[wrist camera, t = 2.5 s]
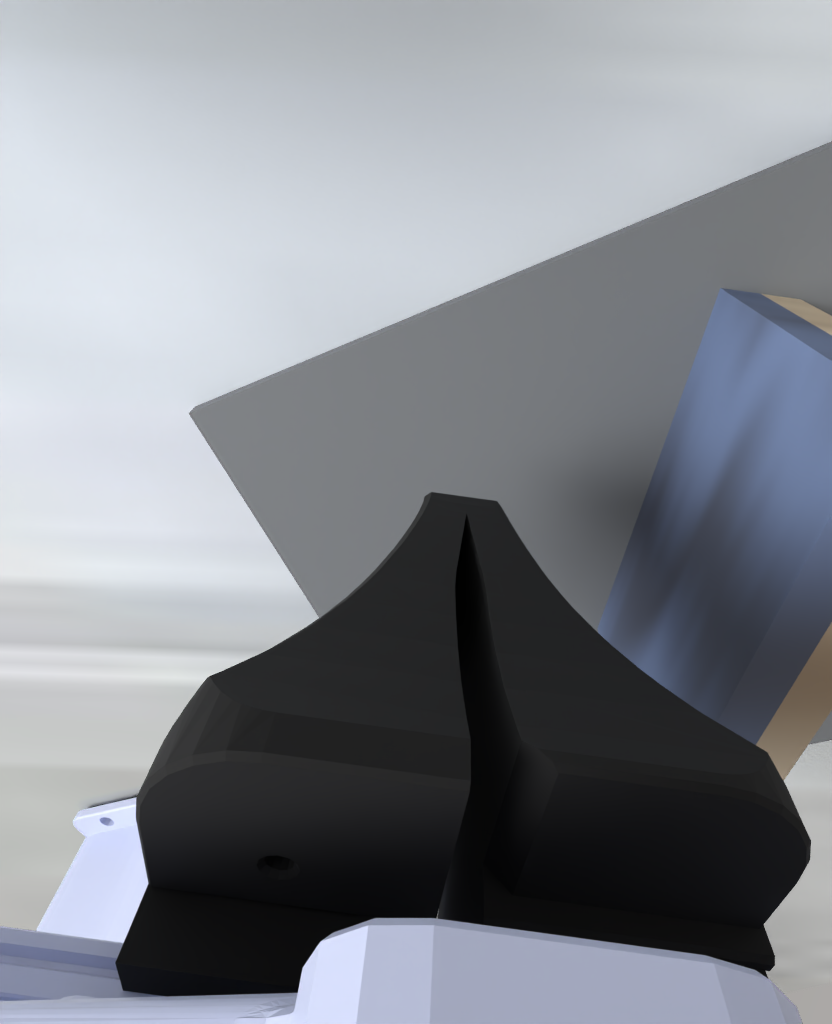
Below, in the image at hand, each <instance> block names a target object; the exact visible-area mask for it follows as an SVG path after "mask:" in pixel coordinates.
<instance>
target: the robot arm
mask: <svg viewBox="0 0 832 1024" xmlns="http://www.w3.org/2000/svg"><path fill="white" fill-rule="evenodd" d="M73 825H74V826H75V828H76V829H77V830H79V831H80V832H81V833H82V834H83V835H84V836H85V837H86V838H85V840H84V842H83V844H82V845H81V847H80V849H79V851H78V853H77V855H76V857H75V858H74V860H73V862H72V864H71V866H70V868H69V870H68V872H67V873H66V875H65V877H64V879H63V881H62V883H61V885H60V887H59V888H58V890H57V892H56V894H55V896H54V898H53V900H52V901H51V903H50V905H49V907H48V909H47V911H46V913H45V915H44V916H43V918H42V920H41V922H40V924H39V926H38V928H37V930H36V931H33V930H25V929H18V928H11V927H3V926H0V1024H803V1023H802V1020H801V1018H800V1015H799V1012H798V1009H797V1007H796V1006H795V1005H794V1004H793V1003H792V1002H791V1000H790V999H789V998H788V997H787V996H786V995H785V994H784V993H783V992H782V991H781V990H780V989H779V988H778V987H777V986H776V985H775V984H774V983H773V982H772V981H771V980H770V979H768V977H767V974H766V971H770V970H771V969H772V968H773V967H774V966H775V955H774V953H773V950H772V947H771V944H770V942H769V939H768V936H767V933H766V931H765V928H764V925H763V924H764V923H765V922H766V921H767V919H768V918H769V917H770V916H771V914H772V913H773V912H774V911H775V909H776V908H777V907H778V906H779V905H780V903H781V902H782V901H783V900H784V898H785V897H786V896H787V895H788V893H789V892H790V891H791V890H792V888H793V887H794V886H795V885H796V884H797V882H798V880H799V879H800V877H801V875H802V873H803V871H804V870H805V868H806V866H807V864H808V862H809V861H810V848H811V840H810V838H809V836H808V833H807V831H806V829H805V827H804V825H803V823H802V820H801V818H800V816H799V814H798V811H797V809H796V807H795V805H794V802H793V800H792V798H791V796H790V794H789V791H788V789H787V787H786V785H785V783H784V781H783V779H782V778H781V776H780V774H779V772H778V770H777V768H776V767H775V765H774V763H773V761H772V759H771V758H770V756H769V754H768V752H766V751H765V750H763V749H761V748H760V747H758V746H756V745H755V744H753V743H751V742H750V741H748V740H746V739H745V738H743V737H741V736H740V735H738V734H736V733H734V732H733V731H731V730H729V729H728V728H726V727H724V726H723V725H721V724H719V723H718V722H716V721H714V720H713V719H711V718H709V717H708V716H706V715H704V714H703V713H701V712H700V711H698V710H697V709H695V708H694V707H692V706H691V705H689V704H688V703H686V702H685V701H683V700H682V699H681V698H679V697H678V696H676V695H675V694H673V693H672V692H671V691H669V690H668V689H666V688H665V687H663V686H662V685H661V684H659V683H658V682H657V681H655V680H654V679H653V678H651V677H650V676H649V675H647V674H646V673H645V672H643V671H642V670H641V669H640V668H638V667H637V666H636V665H635V664H634V663H632V662H631V661H630V660H629V659H628V658H626V657H625V656H624V655H623V654H622V653H620V652H619V651H618V650H617V649H616V648H614V647H613V646H612V645H611V644H610V643H609V642H608V641H606V640H605V639H604V638H603V637H602V636H601V635H600V634H599V633H598V632H597V631H596V630H595V629H594V628H593V627H592V626H591V625H590V624H589V623H588V622H587V621H586V620H585V619H584V618H583V617H582V616H581V615H580V614H579V613H578V612H577V611H576V610H575V609H574V608H573V607H572V606H571V605H570V604H569V603H568V601H567V600H566V599H565V598H564V597H563V596H562V595H561V593H560V592H559V591H558V590H557V589H556V587H555V586H554V585H553V584H552V582H551V581H550V580H549V579H548V577H547V576H546V575H545V573H544V572H543V571H542V569H541V568H540V566H539V565H538V564H537V562H536V561H535V559H534V558H533V557H532V555H531V554H530V552H529V551H528V549H527V548H526V546H525V545H524V543H523V542H522V540H521V539H520V537H519V535H518V534H517V532H516V531H515V529H514V527H513V526H512V524H511V522H510V521H509V519H508V517H507V516H506V514H505V512H504V510H503V509H502V507H501V506H500V504H499V503H498V501H493V500H486V499H479V498H472V497H465V496H457V495H450V494H443V493H436V492H431V493H429V494H428V495H426V496H425V497H424V501H423V504H422V506H421V508H420V510H419V512H418V514H417V516H416V517H415V519H414V521H413V522H412V524H411V525H410V527H409V528H408V530H407V531H406V532H405V534H404V535H403V537H402V538H401V539H400V541H399V542H398V544H397V545H396V546H395V547H394V549H393V550H392V551H391V552H390V553H389V554H388V556H387V557H386V558H385V559H384V560H383V561H382V562H381V564H380V565H379V566H378V567H377V568H376V569H375V570H374V571H373V572H372V573H371V574H370V575H369V576H368V577H367V578H366V579H365V580H364V581H363V582H362V583H361V584H360V585H359V586H358V587H357V588H356V589H355V590H354V591H353V592H351V593H350V594H349V595H348V596H347V597H346V598H345V599H343V600H342V601H341V602H340V603H338V604H337V605H336V606H334V607H333V608H332V609H331V610H329V611H328V612H327V613H325V614H324V615H323V616H322V617H320V618H319V619H317V620H316V621H314V622H313V623H312V624H310V625H309V626H307V627H306V628H304V629H302V630H301V631H299V632H297V633H296V634H294V635H292V636H291V637H289V638H287V639H286V640H284V641H283V642H281V643H279V644H278V645H276V646H274V647H273V648H271V649H269V650H267V651H265V652H263V653H261V654H259V655H257V656H255V657H252V658H250V659H248V660H246V661H244V662H241V663H239V664H237V665H235V666H233V667H230V668H228V669H226V670H224V671H221V672H219V673H217V674H214V675H212V676H210V677H208V678H207V679H206V680H205V681H204V683H203V684H202V685H201V686H200V688H199V689H198V691H197V692H196V693H195V695H194V696H193V697H192V699H191V700H190V701H189V703H188V704H187V706H186V707H185V709H184V710H183V712H182V713H181V715H180V716H179V718H178V719H177V721H176V722H175V723H174V725H173V726H172V728H171V730H170V731H169V733H168V735H167V736H166V738H165V740H164V742H163V744H162V746H161V748H160V749H159V751H158V754H157V756H156V758H155V760H154V762H153V764H152V766H151V768H150V770H149V773H148V775H147V777H146V779H145V781H144V783H143V785H142V787H141V789H140V791H139V794H138V796H137V797H135V798H131V799H127V800H122V801H118V802H114V803H109V804H105V805H101V806H96V807H92V808H88V809H83V810H81V811H79V812H78V813H77V815H76V817H75V818H74V820H73ZM438 909H439V913H438ZM437 913H438V919H436V917H437ZM765 970H766V971H765Z"/></svg>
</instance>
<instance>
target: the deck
mask: <svg viewBox="0 0 832 1024" xmlns="http://www.w3.org/2000/svg"><path fill="white" fill-rule="evenodd" d="M597 629H598V633H599V634H600V635H601V636H602V637H603V638H604V639H605V640H606V641H608V642H609V643H610V644H611V645H612V646H613V647H614V648H616V649H617V650H618V651H619V652H620V653H622V654H623V655H624V656H625V657H626V658H628V659H629V660H630V661H631V662H632V663H634V664H635V665H636V666H637V667H638V668H640V669H641V670H642V671H643V672H645V673H646V674H647V675H649V676H650V677H651V678H653V679H654V680H655V681H657V682H658V683H659V684H661V685H662V686H663V687H665V688H666V689H668V690H669V691H671V692H672V693H673V694H675V695H676V696H678V697H679V698H681V699H682V700H683V701H685V702H686V703H688V704H689V705H691V706H692V707H694V708H695V709H697V710H698V711H700V712H701V713H703V714H704V715H706V716H708V717H709V718H711V719H713V720H714V721H716V722H718V723H719V724H721V725H723V726H724V727H726V728H728V729H729V730H731V731H733V732H734V733H736V734H738V735H740V736H741V737H743V738H745V739H746V740H748V741H750V742H751V743H753V744H755V745H756V746H758V747H760V748H761V749H763V750H765V751H766V752H768V754H769V756H770V758H771V759H772V761H773V763H774V765H775V767H776V768H777V770H778V772H779V774H780V776H781V778H782V779H783V781H784V779H785V778H786V776H787V775H788V773H789V772H790V770H791V769H792V768H793V766H794V765H795V763H796V762H797V760H798V759H799V757H800V756H801V754H802V753H803V751H804V750H805V748H806V747H807V746H808V744H809V743H810V741H811V740H812V738H813V737H814V735H815V734H816V732H817V731H818V729H819V728H820V727H821V725H822V724H823V722H824V721H825V719H826V718H827V716H828V715H829V713H830V712H831V710H832V316H831V315H829V314H827V313H825V312H823V311H822V310H820V309H818V308H816V307H814V306H812V305H810V304H808V303H807V302H805V301H803V300H801V299H795V298H787V297H780V296H773V295H766V294H759V293H752V292H745V291H738V290H731V289H724V288H720V291H719V293H718V296H717V299H716V302H715V304H714V307H713V310H712V313H711V316H710V318H709V321H708V324H707V327H706V329H705V332H704V335H703V338H702V340H701V343H700V346H699V349H698V351H697V354H696V357H695V360H694V363H693V365H692V368H691V371H690V374H689V376H688V379H687V382H686V385H685V387H684V390H683V393H682V396H681V399H680V401H679V404H678V407H677V410H676V412H675V415H674V418H673V421H672V423H671V426H670V429H669V432H668V435H667V437H666V440H665V443H664V446H663V448H662V451H661V454H660V457H659V459H658V462H657V465H656V468H655V471H654V473H653V476H652V479H651V482H650V484H649V487H648V490H647V493H646V495H645V498H644V501H643V504H642V506H641V509H640V512H639V515H638V518H637V520H636V523H635V526H634V529H633V531H632V534H631V537H630V540H629V542H628V545H627V548H626V551H625V554H624V556H623V559H622V562H621V565H620V567H619V570H618V573H617V576H616V578H615V581H614V584H613V587H612V590H611V592H610V595H609V598H608V601H607V603H606V606H605V609H604V612H603V614H602V617H601V620H600V623H599V626H598V628H597Z"/></svg>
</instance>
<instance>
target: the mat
mask: <svg viewBox="0 0 832 1024" xmlns="http://www.w3.org/2000/svg"><path fill="white" fill-rule="evenodd" d="M720 288H724V289H731V290H738V291H745V292H752V293H759V294H766V295H773V296H780V297H787V298H795V299H801V300H803V301H805V302H807V303H808V304H810V305H812V306H814V307H816V308H818V309H820V310H822V311H823V312H825V313H827V314H829V315H831V316H832V142H830V143H827V144H825V145H823V146H820V147H818V148H815V149H813V150H811V151H808V152H806V153H803V154H801V155H799V156H796V157H794V158H791V159H789V160H787V161H784V162H782V163H779V164H777V165H775V166H772V167H770V168H767V169H765V170H763V171H760V172H758V173H755V174H753V175H751V176H748V177H746V178H743V179H741V180H739V181H736V182H734V183H731V184H729V185H727V186H724V187H722V188H719V189H717V190H715V191H712V192H710V193H707V194H705V195H702V196H700V197H698V198H695V199H693V200H690V201H688V202H686V203H683V204H681V205H678V206H676V207H674V208H671V209H669V210H666V211H664V212H662V213H659V214H657V215H654V216H652V217H650V218H647V219H645V220H642V221H640V222H638V223H635V224H633V225H630V226H628V227H626V228H623V229H621V230H618V231H616V232H614V233H611V234H609V235H606V236H604V237H602V238H599V239H597V240H594V241H592V242H590V243H587V244H585V245H582V246H580V247H578V248H575V249H573V250H570V251H568V252H566V253H563V254H561V255H558V256H556V257H554V258H551V259H549V260H546V261H544V262H542V263H539V264H537V265H534V266H532V267H530V268H527V269H525V270H522V271H520V272H518V273H515V274H513V275H510V276H508V277H506V278H503V279H501V280H498V281H496V282H494V283H491V284H489V285H486V286H484V287H482V288H479V289H477V290H474V291H472V292H470V293H467V294H465V295H462V296H460V297H458V298H455V299H453V300H450V301H448V302H446V303H443V304H441V305H438V306H436V307H434V308H431V309H429V310H426V311H424V312H422V313H419V314H417V315H414V316H412V317H410V318H407V319H405V320H402V321H400V322H398V323H395V324H393V325H390V326H388V327H386V328H383V329H381V330H378V331H376V332H374V333H371V334H369V335H366V336H364V337H362V338H359V339H357V340H354V341H352V342H350V343H347V344H345V345H342V346H340V347H338V348H335V349H333V350H330V351H328V352H326V353H323V354H321V355H318V356H316V357H314V358H311V359H309V360H306V361H304V362H302V363H299V364H297V365H294V366H292V367H290V368H287V369H285V370H282V371H280V372H278V373H275V374H273V375H270V376H268V377H266V378H263V379H261V380H258V381H256V382H254V383H251V384H249V385H246V386H244V387H242V388H239V389H237V390H234V391H232V392H230V393H227V394H225V395H222V396H220V397H218V398H215V399H213V400H210V401H208V402H206V403H203V404H201V405H198V406H196V407H195V408H194V409H193V410H192V411H191V412H190V413H189V414H190V416H191V418H192V419H193V421H194V422H195V424H196V425H197V427H198V429H199V430H200V432H201V433H202V435H203V436H204V438H205V440H206V441H207V443H208V444H209V446H210V447H211V449H212V450H213V452H214V454H215V455H216V457H217V458H218V460H219V461H220V463H221V465H222V466H223V468H224V469H225V471H226V472H227V474H228V476H229V477H230V479H231V480H232V482H233V483H234V485H235V486H236V488H237V490H238V491H239V493H240V494H241V496H242V497H243V499H244V501H245V502H246V504H247V505H248V507H249V508H250V510H251V511H252V513H253V515H254V516H255V518H256V519H257V521H258V522H259V524H260V526H261V527H262V529H263V530H264V532H265V533H266V535H267V537H268V538H269V540H270V541H271V543H272V544H273V546H274V547H275V549H276V551H277V552H278V554H279V555H280V557H281V558H282V560H283V562H284V563H285V565H286V566H287V568H288V569H289V571H290V573H291V574H292V576H293V577H294V579H295V580H296V582H297V583H298V585H299V587H300V588H301V590H302V591H303V593H304V594H305V596H306V598H307V599H308V601H309V602H310V604H311V605H312V607H313V609H314V610H315V612H316V613H317V615H318V616H319V618H320V617H322V616H323V615H324V614H325V613H327V612H328V611H329V610H331V609H332V608H333V607H334V606H336V605H337V604H338V603H340V602H341V601H342V600H343V599H345V598H346V597H347V596H348V595H349V594H350V593H351V592H353V591H354V590H355V589H356V588H357V587H358V586H359V585H360V584H361V583H362V582H363V581H364V580H365V579H366V578H367V577H368V576H369V575H370V574H371V573H372V572H373V571H374V570H375V569H376V568H377V567H378V566H379V565H380V564H381V562H382V561H383V560H384V559H385V558H386V557H387V556H388V554H389V553H390V552H391V551H392V550H393V549H394V547H395V546H396V545H397V544H398V542H399V541H400V539H401V538H402V537H403V535H404V534H405V532H406V531H407V530H408V528H409V527H410V525H411V524H412V522H413V521H414V519H415V517H416V516H417V514H418V512H419V510H420V508H421V506H422V504H423V501H424V497H425V496H426V495H428V494H429V493H431V492H436V493H443V494H450V495H457V496H465V497H472V498H479V499H486V500H493V501H498V503H499V504H500V506H501V507H502V509H503V510H504V512H505V514H506V516H507V517H508V519H509V521H510V522H511V524H512V526H513V527H514V529H515V531H516V532H517V534H518V535H519V537H520V539H521V540H522V542H523V543H524V545H525V546H526V548H527V549H528V551H529V552H530V554H531V555H532V557H533V558H534V559H535V561H536V562H537V564H538V565H539V566H540V568H541V569H542V571H543V572H544V573H545V575H546V576H547V577H548V579H549V580H550V581H551V582H552V584H553V585H554V586H555V587H556V589H557V590H558V591H559V592H560V593H561V595H562V596H563V597H564V598H565V599H566V600H567V601H568V603H569V604H570V605H571V606H572V607H573V608H574V609H575V610H576V611H577V612H578V613H579V614H580V615H581V616H582V617H583V618H584V619H585V620H586V621H587V622H588V623H589V624H590V625H591V626H592V627H593V628H594V629H595V630H596V631H597V632H598V629H597V628H598V626H599V623H600V620H601V617H602V614H603V612H604V609H605V606H606V603H607V601H608V598H609V595H610V592H611V590H612V587H613V584H614V581H615V578H616V576H617V573H618V570H619V567H620V565H621V562H622V559H623V556H624V554H625V551H626V548H627V545H628V542H629V540H630V537H631V534H632V531H633V529H634V526H635V523H636V520H637V518H638V515H639V512H640V509H641V506H642V504H643V501H644V498H645V495H646V493H647V490H648V487H649V484H650V482H651V479H652V476H653V473H654V471H655V468H656V465H657V462H658V459H659V457H660V454H661V451H662V448H663V446H664V443H665V440H666V437H667V435H668V432H669V429H670V426H671V423H672V421H673V418H674V415H675V412H676V410H677V407H678V404H679V401H680V399H681V396H682V393H683V390H684V387H685V385H686V382H687V379H688V376H689V374H690V371H691V368H692V365H693V363H694V360H695V357H696V354H697V351H698V349H699V346H700V343H701V340H702V338H703V335H704V332H705V329H706V327H707V324H708V321H709V318H710V316H711V313H712V310H713V307H714V304H715V302H716V299H717V296H718V293H719V291H720ZM829 740H832V710H831V712H830V713H829V715H828V716H827V718H826V719H825V721H824V722H823V724H822V725H821V727H820V728H819V729H818V731H817V732H816V734H815V735H814V737H813V738H812V740H811V741H810V743H809V744H813V743H818V742H824V741H829Z"/></svg>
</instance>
